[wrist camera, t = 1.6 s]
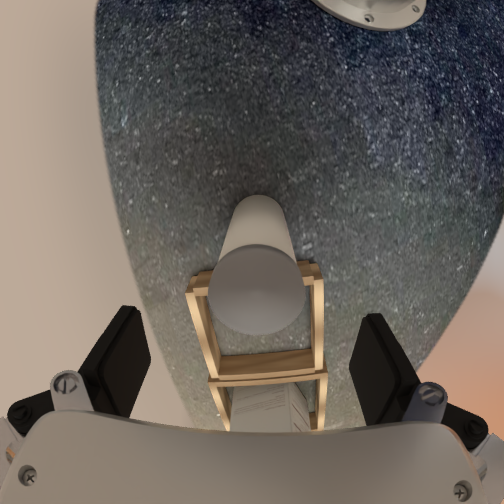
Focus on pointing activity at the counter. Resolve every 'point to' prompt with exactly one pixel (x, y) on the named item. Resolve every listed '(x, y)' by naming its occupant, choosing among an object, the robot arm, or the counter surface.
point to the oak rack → (268, 364)
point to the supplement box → (269, 409)
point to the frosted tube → (257, 271)
